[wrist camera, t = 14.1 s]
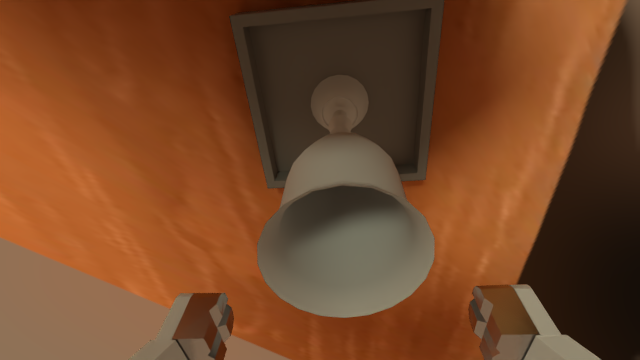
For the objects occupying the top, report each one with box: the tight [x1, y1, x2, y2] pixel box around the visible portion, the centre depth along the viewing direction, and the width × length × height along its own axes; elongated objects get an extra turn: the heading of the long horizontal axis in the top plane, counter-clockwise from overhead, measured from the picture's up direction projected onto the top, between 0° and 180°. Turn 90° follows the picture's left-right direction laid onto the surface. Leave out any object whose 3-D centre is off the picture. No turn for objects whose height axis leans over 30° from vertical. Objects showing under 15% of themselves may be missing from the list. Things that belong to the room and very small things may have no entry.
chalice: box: [257, 75, 434, 318], centre depth 20 cm, size 7×7×18 cm
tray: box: [229, 0, 444, 188], centre depth 27 cm, size 15×15×2 cm
